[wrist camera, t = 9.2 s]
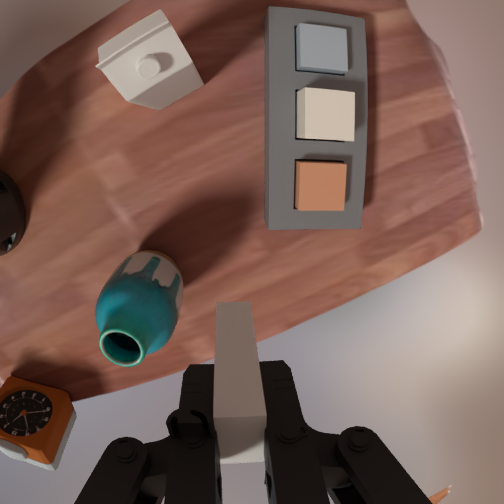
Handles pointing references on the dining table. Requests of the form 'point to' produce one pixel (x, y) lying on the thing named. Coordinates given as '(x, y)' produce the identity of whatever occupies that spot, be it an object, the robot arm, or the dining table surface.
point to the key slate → (320, 49)
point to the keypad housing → (283, 120)
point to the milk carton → (149, 63)
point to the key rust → (319, 185)
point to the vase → (139, 307)
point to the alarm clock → (34, 422)
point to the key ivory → (324, 114)
